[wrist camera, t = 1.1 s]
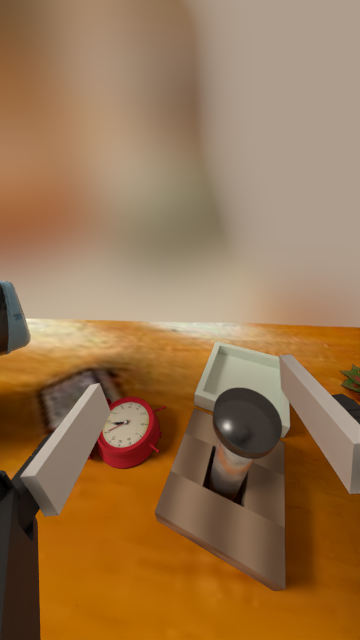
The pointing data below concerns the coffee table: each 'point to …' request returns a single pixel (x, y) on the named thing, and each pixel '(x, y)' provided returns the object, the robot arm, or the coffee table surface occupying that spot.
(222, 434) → the steel pin
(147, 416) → the alarm clock
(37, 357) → the coffee table surface
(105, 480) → the coffee table surface
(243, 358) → the sage tray
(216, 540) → the brown square frame
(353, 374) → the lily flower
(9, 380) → the coffee table surface
